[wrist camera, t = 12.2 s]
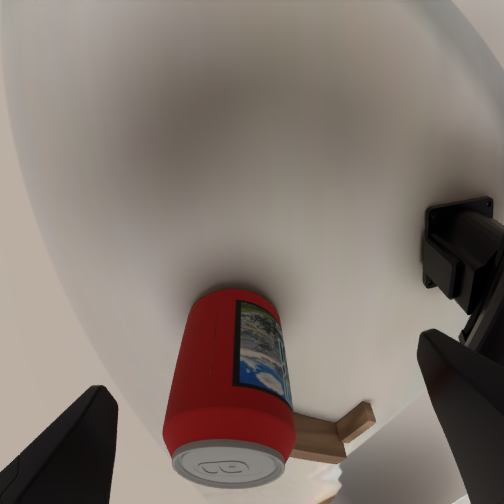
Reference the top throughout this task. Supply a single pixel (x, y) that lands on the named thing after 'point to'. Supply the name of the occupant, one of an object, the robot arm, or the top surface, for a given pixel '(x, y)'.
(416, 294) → the top surface
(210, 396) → the beverage can
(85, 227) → the top surface
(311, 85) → the top surface
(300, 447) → the can cradle
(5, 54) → the top surface
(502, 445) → the robot arm
